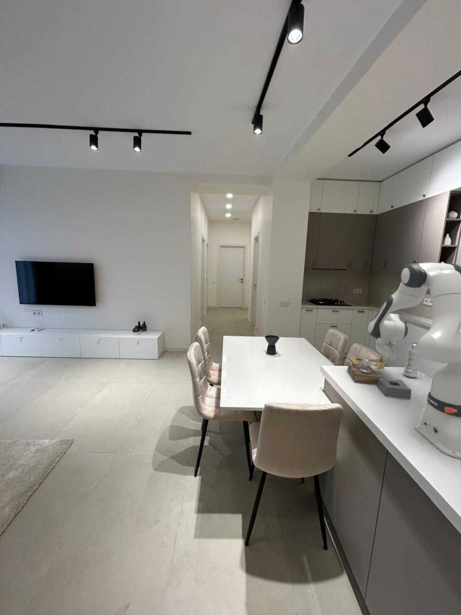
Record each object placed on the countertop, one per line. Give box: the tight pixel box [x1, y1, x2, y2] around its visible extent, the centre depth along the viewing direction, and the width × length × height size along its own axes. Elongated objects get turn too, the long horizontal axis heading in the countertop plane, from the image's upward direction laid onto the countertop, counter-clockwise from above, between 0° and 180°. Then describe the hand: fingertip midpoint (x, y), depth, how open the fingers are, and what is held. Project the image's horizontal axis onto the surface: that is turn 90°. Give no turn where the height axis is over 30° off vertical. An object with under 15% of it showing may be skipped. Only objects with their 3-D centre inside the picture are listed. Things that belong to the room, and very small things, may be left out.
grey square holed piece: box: [376, 377, 413, 400], centre depth 130 cm, size 11×11×5 cm
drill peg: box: [360, 357, 371, 374], centre depth 143 cm, size 5×5×12 cm
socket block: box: [347, 361, 381, 386], centre depth 147 cm, size 16×12×6 cm
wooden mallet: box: [350, 355, 386, 370], centre depth 153 cm, size 12×19×7 cm, turn 80°
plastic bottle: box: [403, 342, 421, 378], centre depth 150 cm, size 6×7×20 cm
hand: (383, 362), depth 152 cm, fingers closed
